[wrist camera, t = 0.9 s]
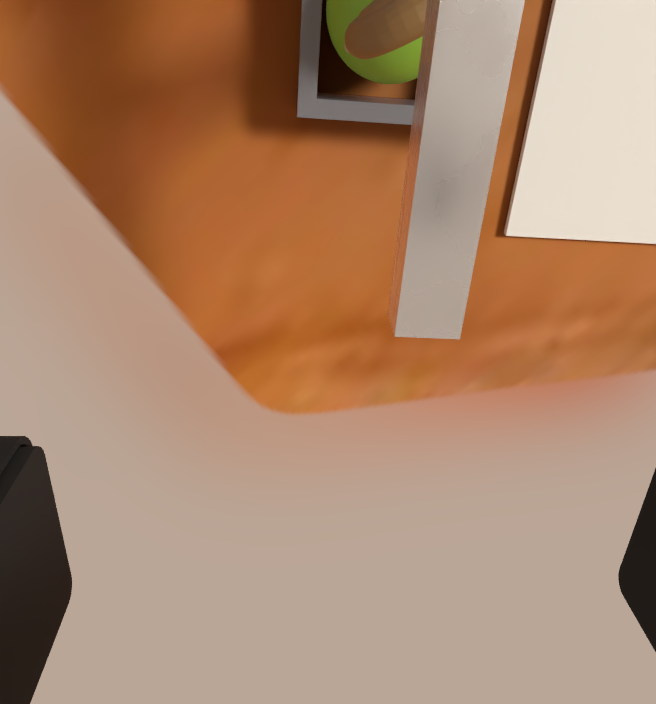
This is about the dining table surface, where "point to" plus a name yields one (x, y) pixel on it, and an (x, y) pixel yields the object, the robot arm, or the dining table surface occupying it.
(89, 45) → the dining table surface
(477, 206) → the light grey long bar
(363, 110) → the socket base
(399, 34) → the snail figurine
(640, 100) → the mat
